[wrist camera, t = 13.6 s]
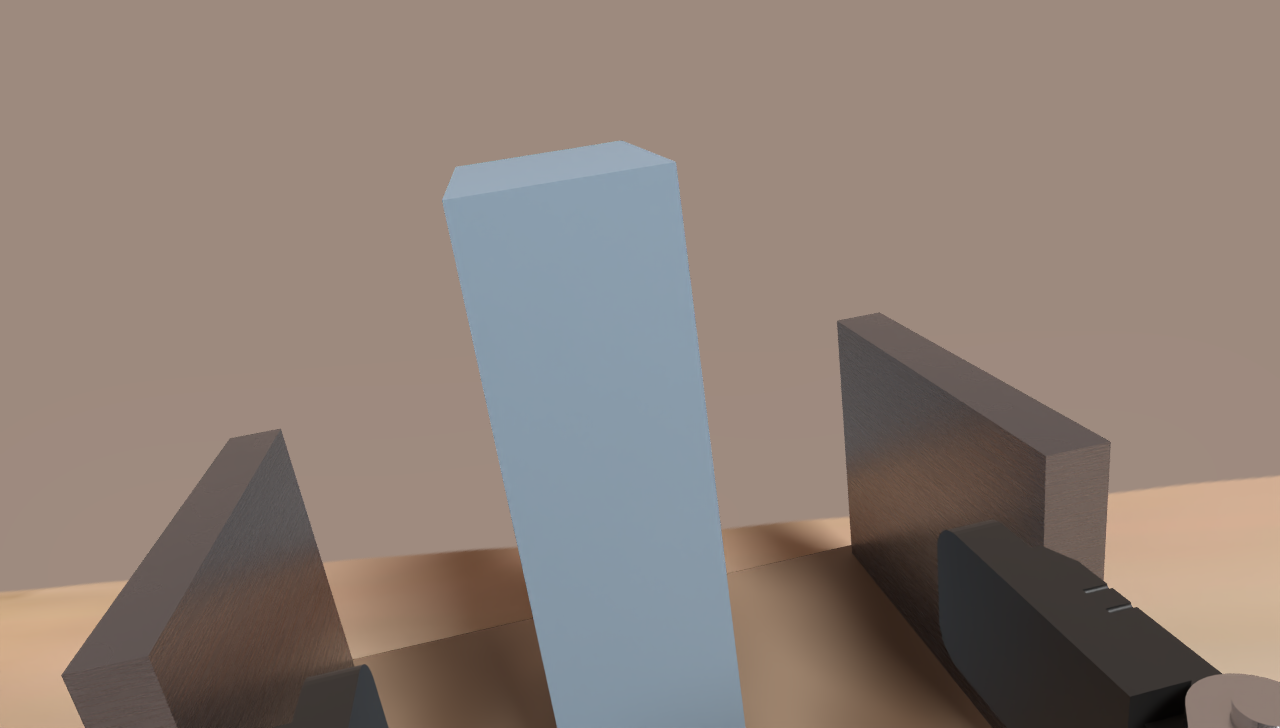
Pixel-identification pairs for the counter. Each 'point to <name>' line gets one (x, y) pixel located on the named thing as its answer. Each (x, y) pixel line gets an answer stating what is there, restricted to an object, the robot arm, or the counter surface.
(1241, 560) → the counter surface
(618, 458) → the book
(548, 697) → the book stand
